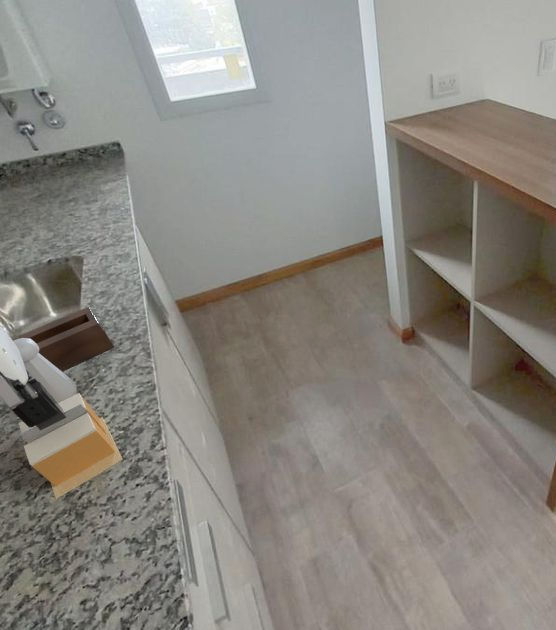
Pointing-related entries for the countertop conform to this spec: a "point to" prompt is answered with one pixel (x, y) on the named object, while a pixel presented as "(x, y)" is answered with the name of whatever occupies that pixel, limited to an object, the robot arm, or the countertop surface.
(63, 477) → the cake slice
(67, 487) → the cake
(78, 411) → the knife
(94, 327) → the knife block
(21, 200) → the countertop surface
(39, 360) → the salt shaker
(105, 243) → the countertop surface
